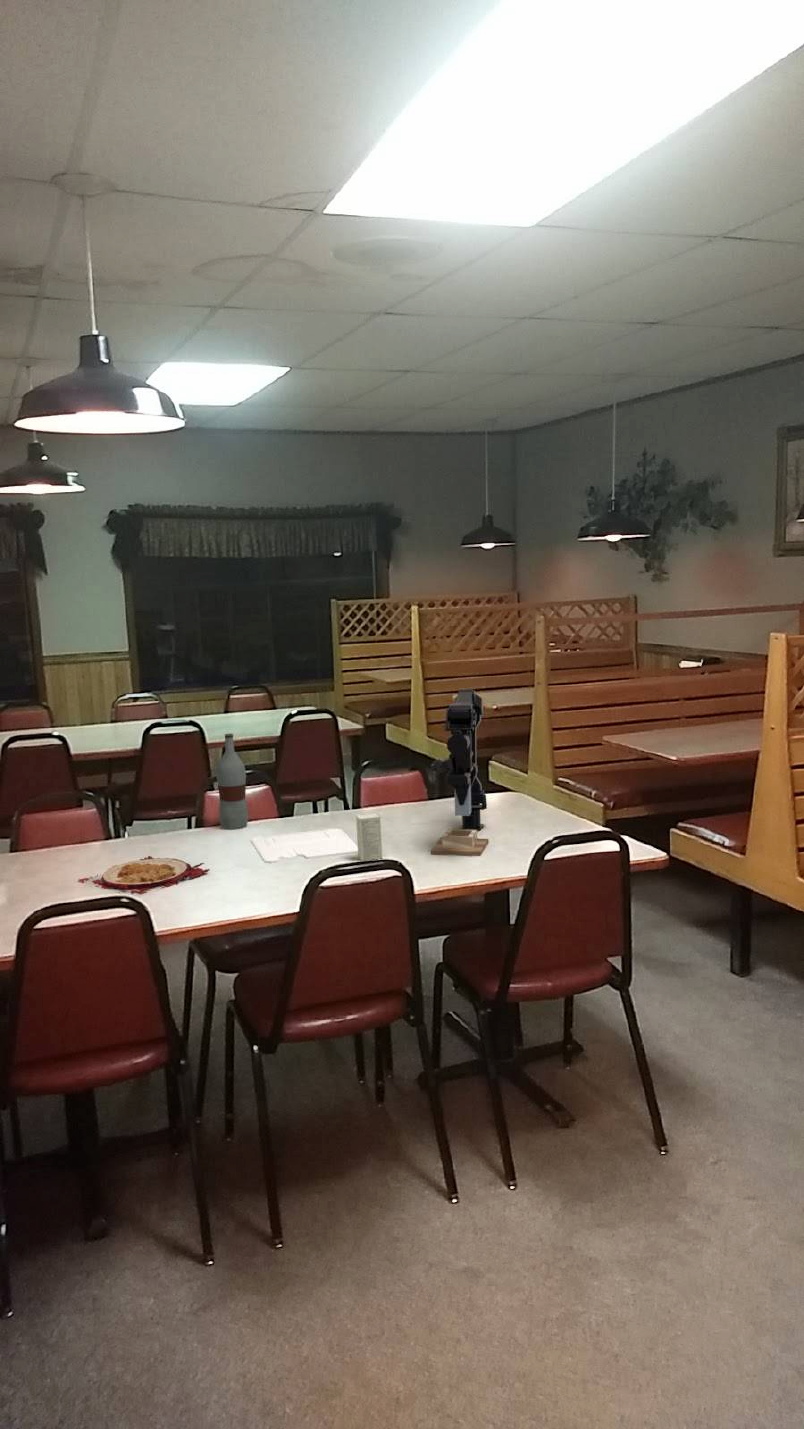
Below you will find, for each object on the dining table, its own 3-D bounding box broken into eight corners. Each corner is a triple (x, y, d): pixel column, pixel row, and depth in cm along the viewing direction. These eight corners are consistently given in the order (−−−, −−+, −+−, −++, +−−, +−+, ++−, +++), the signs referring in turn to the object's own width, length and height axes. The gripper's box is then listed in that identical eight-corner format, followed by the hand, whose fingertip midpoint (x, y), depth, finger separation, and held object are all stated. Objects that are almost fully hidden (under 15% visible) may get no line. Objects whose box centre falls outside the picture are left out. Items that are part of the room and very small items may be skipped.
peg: (457, 812, 275) (456, 777, 274) (471, 812, 274) (470, 778, 273) (455, 815, 271) (454, 780, 270) (469, 815, 270) (468, 780, 269)
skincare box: (379, 855, 270) (377, 812, 269) (382, 859, 266) (381, 816, 264) (357, 857, 269) (355, 814, 267) (360, 861, 265) (358, 818, 263)
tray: (363, 854, 274) (363, 849, 274) (265, 866, 265) (265, 860, 265) (339, 831, 300) (339, 826, 300) (249, 841, 292) (249, 836, 292)
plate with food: (150, 862, 274) (149, 850, 273) (210, 874, 258) (209, 861, 258) (77, 885, 255) (76, 873, 255) (137, 899, 240) (135, 886, 239)
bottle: (252, 822, 313) (247, 731, 309) (244, 830, 304) (238, 736, 300) (224, 822, 314) (219, 732, 310) (215, 830, 305) (209, 736, 301)
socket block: (441, 841, 283) (441, 826, 282) (488, 842, 279) (488, 827, 278) (430, 854, 269) (430, 838, 269) (480, 856, 266) (479, 840, 265)
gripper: (439, 743, 281) (441, 795, 283) (426, 754, 263) (428, 810, 265) (477, 743, 279) (478, 796, 281) (466, 755, 261) (468, 811, 263)
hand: (462, 803), depth 272 cm, fingers closed on peg, 4 cm apart
